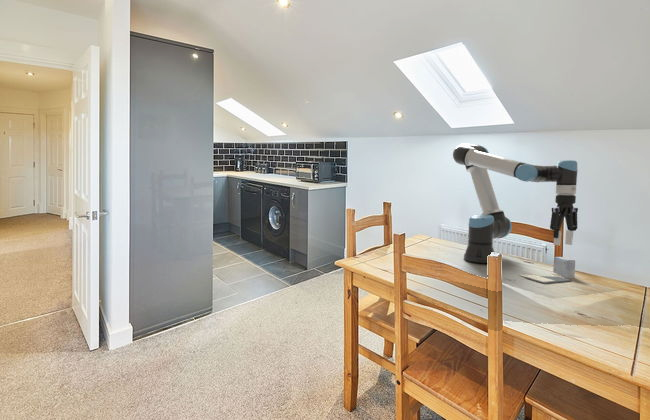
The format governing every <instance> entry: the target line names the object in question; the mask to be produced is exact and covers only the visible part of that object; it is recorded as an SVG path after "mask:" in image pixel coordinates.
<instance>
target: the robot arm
mask: <svg viewBox="0 0 650 420" xmlns="http://www.w3.org/2000/svg"><path fill="white" fill-rule="evenodd" d="M452 158H453V160H454V162H455V163H456V164H458V165H462V166H465V169H466V172H468V173H469V174H470V176H471V179H472V182H473V183H472V184H473V186H474V190H475V192H476V196H477V200H478V202H479V206H480V209H481V212H482V213H481V214H474V215H471V216H470V217H469V219H468V220H469V221H468V234H467V235H468V239H467V247H466V249H465V252H464V254H463V259H464V260H465V261H468V262H471V263H481V264H488V263H487V256H488V255H490V254H491V252H494V253H495V250H494V246H493V243H494V239H503V238H505V237H507V236H509V235H510V234H511V232H512V229H513V224H512V220H511V219H509V218H508V217H506V215H505V212H504V210H502V209H500V207H499V203H498V201H497V198H496V194H495V191H494V187H493V185H492V182H491V179H490V174H489V173H488V171H491V172H496V173H499V174H501V175H506V176H508V177H512V178H516V179H517V180H520V181H523V182H531V183H556V185H555V203H556V204H557V205H556V207H551V217H550V225H549V229H550V230H551V231H553V235H552V236H553V242H552V243H553V245H554V246H561V240H562V239H561V238H562V231H561V228H562V224H563V221H564V218H565V224H566V227H567V228H566V230H565V242H564V244H565V245H569V246H572V245H573V238H574V231H577V229H578V210H579V208H578V207H574V204H576V198H577V196H576V194H577V184H578V183H577V181H578V172H579V170H578V161H576V160H570V159H569V160H567V159H566V160H559V161H558V162H557V164H556V165H534V164H530V163H526V162H521V161H518V160H514V159H510V158H506V157H503V156H499V155H494V154H491V153H490V152H489V151H488V149H487V148H486V147H484V146H483V145H479V144H470V143H461V144H459V145H457V146H456V147H455V148H454V149H453V152H452Z"/></svg>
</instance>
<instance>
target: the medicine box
mask: <svg viewBox="0 0 650 420" xmlns="http://www.w3.org/2000/svg"><path fill="white" fill-rule="evenodd" d="M552 271H553V273H555V274H557V275H559V276H560V277H562V278H566V279H575V277H576V276H575V275H576V274H575V273H576V260H575V259H572V258H568V257H565V256H554V257H553V270H552Z"/></svg>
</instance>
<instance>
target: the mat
mask: <svg viewBox="0 0 650 420" xmlns="http://www.w3.org/2000/svg"><path fill="white" fill-rule="evenodd" d="M519 277H522V278H524V279H525V280H529V281H532V282H536V283H539V284H543V285H551V284H557V283H559V284H560V283H568V282H569V283H570V282H572V281H573V280H572V279H570V278H565V277H563V276H551V275H550V276H549V275H547V276H546V275H545V276H544V275H535V274H519Z"/></svg>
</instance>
